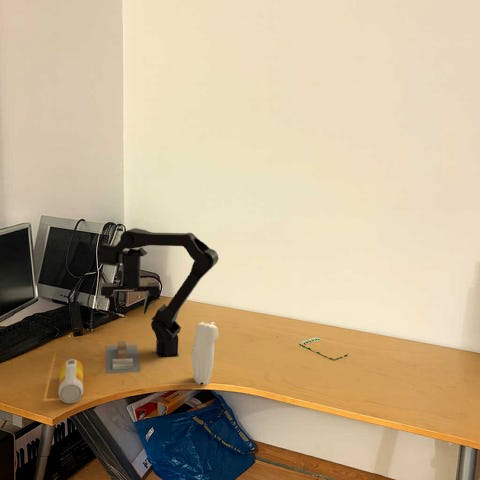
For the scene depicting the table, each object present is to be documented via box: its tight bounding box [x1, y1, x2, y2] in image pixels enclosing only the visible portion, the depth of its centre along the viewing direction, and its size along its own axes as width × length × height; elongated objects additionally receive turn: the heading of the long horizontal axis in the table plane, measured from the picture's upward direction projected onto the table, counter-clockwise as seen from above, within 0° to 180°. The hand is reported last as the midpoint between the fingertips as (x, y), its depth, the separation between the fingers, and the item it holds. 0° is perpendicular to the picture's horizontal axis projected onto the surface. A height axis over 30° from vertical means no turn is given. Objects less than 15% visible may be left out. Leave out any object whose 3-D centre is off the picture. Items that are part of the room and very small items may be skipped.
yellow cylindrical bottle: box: [57, 359, 84, 404], centre depth 135 cm, size 6×6×15 cm
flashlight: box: [191, 321, 219, 386], centre depth 144 cm, size 7×18×7 cm
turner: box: [113, 340, 133, 369], centre depth 156 cm, size 15×6×3 cm, turn 15°
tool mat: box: [105, 344, 141, 374], centre depth 156 cm, size 10×20×1 cm, turn 15°
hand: (130, 314), depth 163 cm, fingers open, 9 cm apart
